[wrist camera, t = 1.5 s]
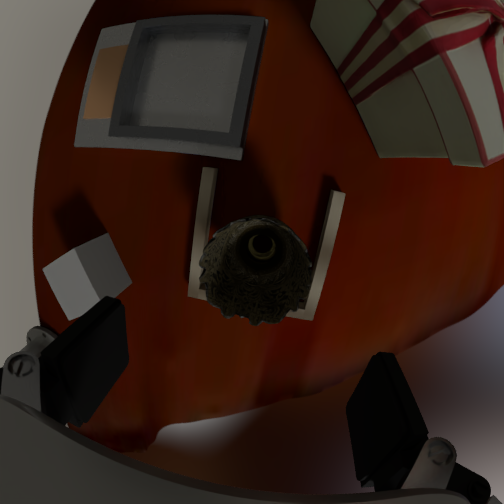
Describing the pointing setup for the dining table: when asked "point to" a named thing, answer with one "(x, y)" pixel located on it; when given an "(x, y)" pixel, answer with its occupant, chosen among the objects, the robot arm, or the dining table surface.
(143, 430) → the dining table surface
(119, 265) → the white cube
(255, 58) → the grey flat rectangular tray
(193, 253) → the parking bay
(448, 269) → the dining table surface
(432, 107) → the gift box
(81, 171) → the dining table surface
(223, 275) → the cup
